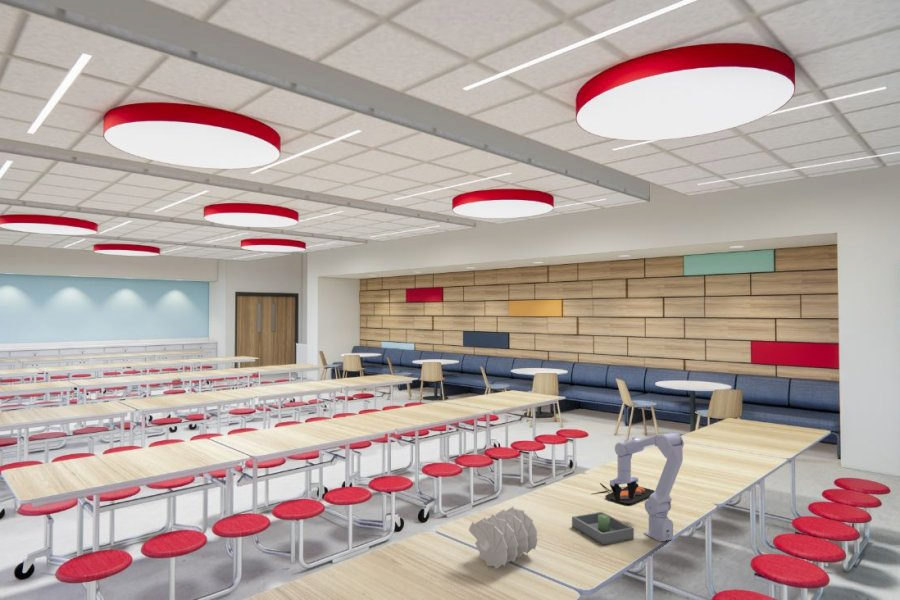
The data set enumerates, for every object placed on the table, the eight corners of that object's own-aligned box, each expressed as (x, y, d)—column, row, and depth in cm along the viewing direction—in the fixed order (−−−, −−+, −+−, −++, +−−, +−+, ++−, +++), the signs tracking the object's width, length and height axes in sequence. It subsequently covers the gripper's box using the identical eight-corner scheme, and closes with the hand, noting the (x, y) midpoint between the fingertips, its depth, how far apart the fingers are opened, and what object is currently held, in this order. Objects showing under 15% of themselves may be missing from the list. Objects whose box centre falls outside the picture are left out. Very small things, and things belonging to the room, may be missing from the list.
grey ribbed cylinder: (532, 563, 206) (492, 583, 188) (500, 531, 218) (459, 547, 200) (551, 525, 202) (512, 541, 184) (517, 494, 213) (477, 507, 195)
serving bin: (633, 539, 220) (633, 528, 220) (602, 545, 214) (602, 534, 214) (601, 521, 238) (601, 511, 239) (572, 527, 232) (572, 516, 232)
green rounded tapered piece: (611, 532, 225) (612, 517, 225) (602, 533, 224) (602, 518, 224) (605, 527, 230) (605, 513, 230) (595, 529, 228) (595, 514, 228)
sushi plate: (628, 508, 258) (628, 500, 258) (576, 492, 280) (576, 484, 280) (658, 495, 277) (658, 487, 277) (607, 481, 299) (607, 474, 300)
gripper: (630, 465, 247) (630, 495, 246) (605, 468, 241) (605, 499, 241) (641, 469, 240) (641, 500, 240) (615, 472, 235) (615, 504, 234)
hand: (624, 499), depth 240 cm, fingers open, 7 cm apart
